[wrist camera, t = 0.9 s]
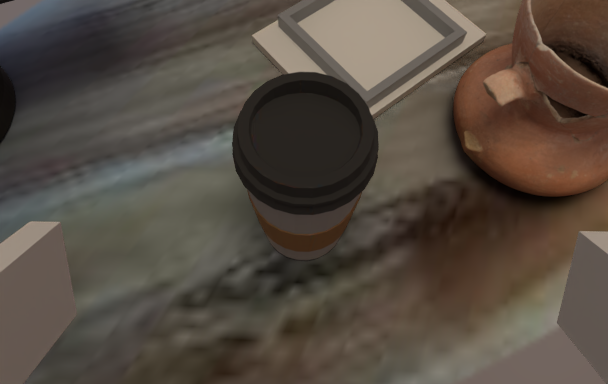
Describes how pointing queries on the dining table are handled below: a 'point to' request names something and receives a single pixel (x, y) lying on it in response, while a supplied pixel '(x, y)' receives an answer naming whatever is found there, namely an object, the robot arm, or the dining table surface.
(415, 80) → the collar board
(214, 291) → the dining table surface
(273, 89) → the coffee cup
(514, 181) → the ceramic jug
